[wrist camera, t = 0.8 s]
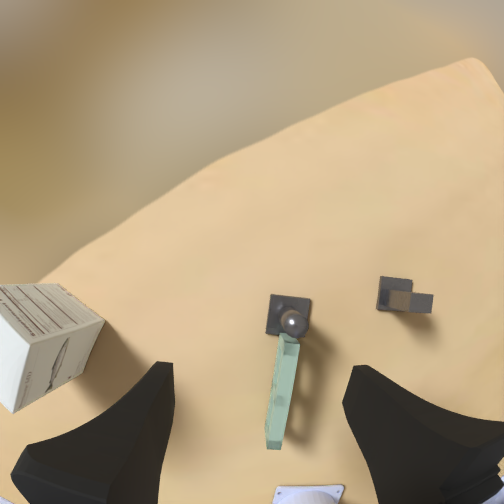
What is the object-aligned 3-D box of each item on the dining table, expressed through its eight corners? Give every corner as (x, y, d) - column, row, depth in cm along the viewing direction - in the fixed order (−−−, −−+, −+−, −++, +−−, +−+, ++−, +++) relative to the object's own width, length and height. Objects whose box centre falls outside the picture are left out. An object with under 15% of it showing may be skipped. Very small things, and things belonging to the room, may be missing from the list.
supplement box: (84, 374, 27) (12, 418, 14) (37, 334, 27) (-41, 356, 15) (108, 320, 27) (31, 347, 15) (58, 279, 28) (-27, 282, 15)
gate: (279, 332, 27) (284, 342, 23) (292, 333, 27) (300, 344, 23) (264, 428, 26) (266, 449, 22) (276, 428, 26) (280, 449, 22)
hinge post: (303, 336, 28) (316, 351, 22) (265, 332, 28) (269, 347, 22) (309, 298, 28) (323, 305, 22) (270, 294, 28) (276, 300, 22)
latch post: (406, 311, 28) (435, 318, 22) (376, 308, 28) (401, 316, 22) (410, 279, 28) (440, 281, 22) (380, 276, 28) (407, 277, 22)
